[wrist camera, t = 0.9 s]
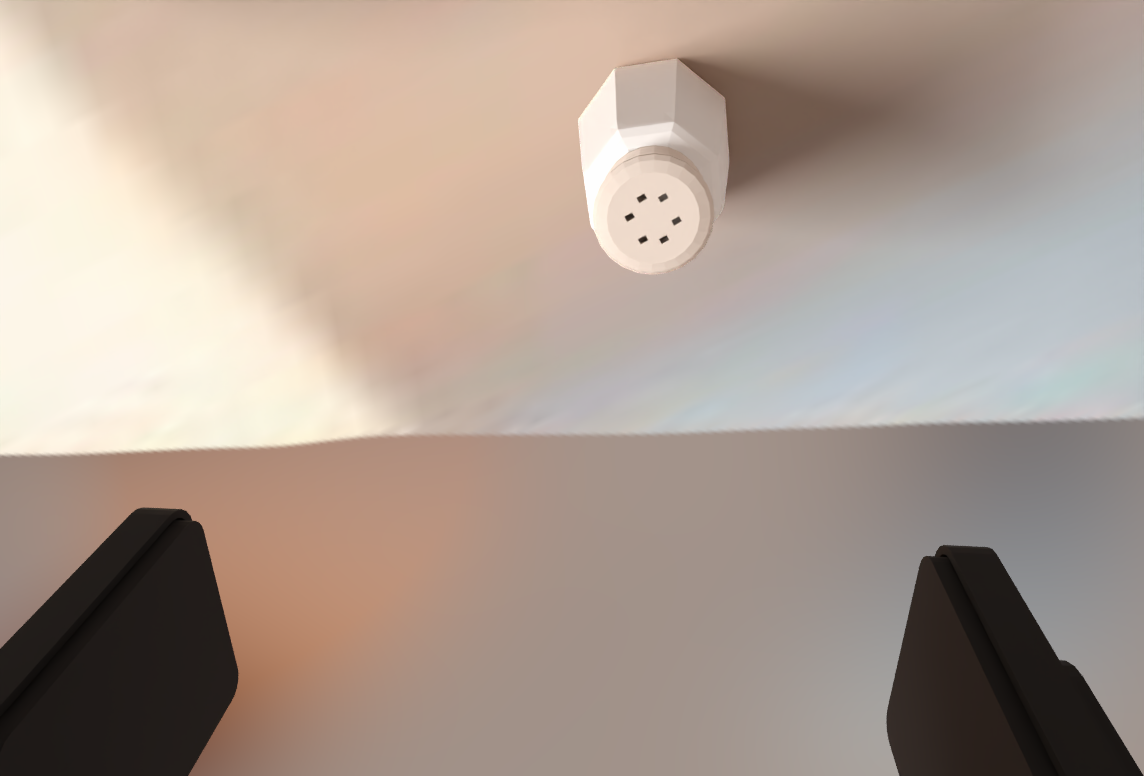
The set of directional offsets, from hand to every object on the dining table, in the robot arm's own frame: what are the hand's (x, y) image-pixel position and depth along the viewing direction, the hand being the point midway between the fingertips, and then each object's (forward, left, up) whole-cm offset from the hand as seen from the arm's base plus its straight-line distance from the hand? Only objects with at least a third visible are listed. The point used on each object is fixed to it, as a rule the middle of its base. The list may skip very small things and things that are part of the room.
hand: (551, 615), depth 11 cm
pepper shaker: (-3, +1, -22) cm, 22 cm away
